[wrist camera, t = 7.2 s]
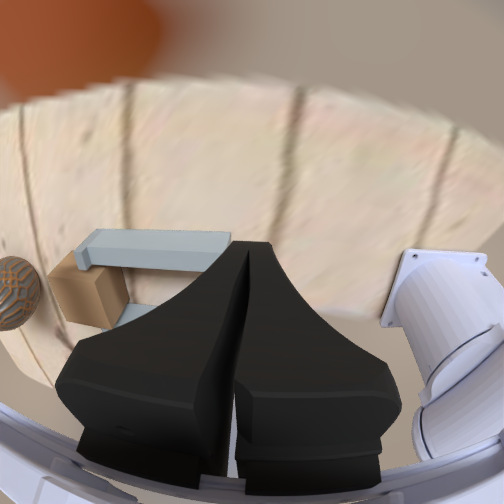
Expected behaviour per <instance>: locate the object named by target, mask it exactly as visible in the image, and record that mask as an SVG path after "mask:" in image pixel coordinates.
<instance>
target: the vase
mask: <svg viewBox="0 0 504 504" xmlns="http://www.w3.org/2000/svg"><path fill="white" fill-rule="evenodd" d="M39 297H40V283H39V278H38V275H37V273H36V271H35V270H34V268H33V267H32V266H31V264H30V263H29V262H27V261H26V260H24V259H22V258H19V257H15V256H9V257H5V258H2V259H0V331H8V330H13V329H16V328H18V327H20V326H21V325H23V324H24V323H25V322H26V321H27V320H28V319H29V318H30V317H31V315H32V314H33V312H34V311H35V309H36V307H37V304H38V301H39Z"/></svg>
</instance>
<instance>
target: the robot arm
mask: <svg viewBox="0 0 504 504" xmlns="http://www.w3.org/2000/svg"><path fill="white" fill-rule="evenodd" d="M414 254H416V255H415V256H414V257H412V256H413V255H414ZM486 261H487V255H485V254H484V253H472V252H456V251H440V250H423V249H407V250H405V251H404V252H403V255H402V258H401V261H400V265H399V268H398V271H397V274H396V277H395V281H394V284H393V287H392V289H391V292H390V295H389V298H388V301H387V304H386V306H385V309H384V312H383V315H382V317H381V320H380V325H381V327H384V328H386V327H403V329H404V332H405V334H406V336H407V339H408V341H409V344H410V346H411V349H412V351H413V354H414V357H415V359H416V362H417V364H418V367H419V370H420V372H421V375H422V378H423V381H424V383H425V388H424V389H423V390H422V391H421V392H419V397H420V400H421V403H422V406H420V407H419V408H418V409H417V411H416V412H415V414H414V417H413V423H412V442H413V446H414V449H415V452H416V455H417V457H418V459H419V461H420V462H419V463H415V464H411V465H407V466H403V467H398V468H394V469H389V470H384V471H380V465H379V459H378V455H379V454H380V453H382V445H381V440H380V437H381V436H382V435H383V434H384V433H385V432H386V431H387V429H388V428H389V427H390V426H391V425H392V424H393V423H394V421H395V420H396V419H397V417H398V415H399V414H400V412H401V408H402V403H401V399H400V395H399V392H398V388H397V386H396V383H395V380H394V378H393V376H392V374H391V372H390V370H389V368H388V365H387V363H385V362H384V361H382V360H380V359H379V358H377V357H375V356H374V355H372V354H370V353H368V352H367V351H365V350H363V349H362V348H360V347H358V346H357V345H355V344H354V343H353V342H351V341H350V340H348V339H347V338H345V337H344V336H343V335H342V334H340V333H339V332H338V331H336V330H335V329H334V328H333V327H332V326H330V325H329V324H328V323H327V322H326V321H325V320H324V319H322V318H321V317H320V316H319V315H318V314H317V313H316V312H315V311H314V310H313V309H312V308H311V307H310V306H309V304H308V303H307V302H306V301H305V300H304V299H303V298H302V296H301V295H300V294H299V293H298V291H297V290H296V289H295V287H294V286H293V284H292V283H291V282H290V280H289V279H288V277H287V276H286V274H285V272H284V271H283V269H282V267H281V266H280V264H279V262H278V260H277V258H276V256H275V254H274V251H273V248H272V245H271V244H270V243H269V242H253V241H233V242H232V243H231V244H230V245H229V246H228V247H227V248H226V249H225V251H224V252H223V253H222V254H221V255H220V256H219V257H218V258H217V259H216V260H215V261H214V262H213V263H212V264H211V266H210V267H209V268H208V269H207V270H206V271H205V272H203V273H202V274H201V275H200V276H199V277H198V278H197V279H196V280H195V281H193V282H192V283H191V284H190V285H189V286H188V287H186V288H185V289H184V290H182V291H181V292H180V293H178V294H177V295H175V296H174V297H173V298H171V299H170V300H168V301H166V302H165V303H163V304H161V305H160V306H158V307H156V308H154V309H153V310H151V311H149V312H148V313H146V314H144V315H142V316H140V317H138V318H136V319H134V320H132V321H130V322H128V323H125V324H123V325H121V326H119V327H116V328H114V329H111V330H108V331H106V332H103V333H100V334H97V335H94V336H92V337H89V338H86V339H82V340H79V342H78V343H77V345H76V346H75V348H74V350H73V351H72V353H71V355H70V356H69V358H68V360H67V362H66V364H65V365H64V367H63V369H62V371H61V373H60V374H59V376H58V378H57V380H56V383H55V388H56V391H57V394H58V397H59V398H60V399H61V401H62V402H63V404H64V405H65V406H66V407H67V408H68V409H69V411H70V412H71V413H72V414H73V415H74V416H75V417H76V418H77V419H78V420H79V421H80V423H81V424H82V425H83V426H84V427H85V428H84V431H83V433H82V436H81V439H80V441H76V440H74V439H71V438H69V437H67V436H65V435H62V434H60V433H57V432H55V431H53V430H51V429H49V428H47V427H45V426H43V425H41V424H39V423H37V422H35V421H33V420H31V419H29V418H27V417H25V416H24V415H22V414H20V413H18V412H17V411H14V410H13V409H11V408H10V407H8V406H6V405H4V404H3V403H1V402H0V490H2V491H3V492H4V493H5V494H6V495H7V496H8V497H9V498H11V499H12V500H13V501H14V502H15V503H16V504H142V503H138V502H137V501H138V499H137V498H136V497H134V496H132V495H130V494H128V493H126V492H123V491H122V490H120V489H118V488H116V487H114V486H113V485H112V484H110V483H109V482H108V481H106V480H104V479H102V478H100V477H97V476H95V475H93V474H91V473H89V472H87V471H85V470H83V469H86V470H88V471H91V472H93V473H96V474H98V475H102V476H104V477H107V478H109V479H113V480H115V481H118V482H121V483H124V484H128V485H131V486H134V487H138V488H141V489H145V490H149V491H153V492H157V493H161V494H166V495H170V496H174V497H179V498H184V499H190V500H196V501H202V502H210V503H217V504H339V503H347V502H354V501H360V500H364V501H360V502H355V503H351V504H504V288H503V287H502V286H501V284H500V283H499V282H498V281H497V280H496V279H495V277H494V276H493V275H492V274H491V273H490V271H489V270H488V269H487V268H486V267H485V264H486ZM389 322H390V323H389ZM234 393H235V407H236V419H237V440H236V449H235V460H236V462H237V470H238V478H229V477H227V471H228V458H229V445H230V433H231V421H232V410H233V400H234ZM82 468H83V469H82ZM366 499H368V500H366Z"/></svg>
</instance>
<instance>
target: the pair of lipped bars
mask: <svg viewBox="0 0 504 504" xmlns="http://www.w3.org/2000/svg"><path fill="white" fill-rule="evenodd" d="M230 244H231V232H208V231H174V230H128V229H96V230H95V231H94V232H93V233H92V234H91V235H90V236H89V237H88V238H87V239H85V240H84V241H83V242H82V243H81V244H80V245H79V246H78V247H77V248H76V249H75V250H74V251H73V253H74V257H75V260H76V263H77V266H78V269H79V270H87V269H88V268H89V267H90V266H91V265H92V264H95V265H108V266H121V267H135V268H150V269H165V270H182V271H199V272H205V271H206V270H207V269H208V268H209V267H210V266H211V264H212V263H213V262H214V261H215V260H216V259H217V258H218V257H219V256H220V255H221V254H222V253H223V252H224V251H225V249H226V248H227V247H228V246H229V245H230ZM156 307H158V306H150V305H141V304H132V303H127V304H126V306H125V308H124V310H123V311H122V313H121V315H120V317H119V318H118V320H117V322H116V324H115V326H114V327H113V329H114V328H116V327H119V326H121V325H123V324H125V323H128V322H130V321H132V320H134V319H136V318H138V317H140V316H142V315H144V314H146V313H148V312H149V311H151V310H153V309H154V308H156ZM101 329H102V331H103V332H106V331H108V330H110V329H104V328H101Z"/></svg>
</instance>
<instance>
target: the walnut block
mask: <svg viewBox="0 0 504 504" xmlns="http://www.w3.org/2000/svg"><path fill="white" fill-rule="evenodd" d="M47 277H48V279H49V282H50V284H51V287H52V289H53V292H54V294H55V296H56V299H57V301H58V303H59V306H60V308H61V310H62V312H63V314H64V316H65V318H66V321H69V322H74V323H78V324H83V325H88V326H93V327H99V328H104V329H110V330H111V329H113V327H114V326H115V324H116V322H117V320H118V318H119V317H120V315H121V313H122V311H123V310H124V308H125V306H126V304H127V303H128V301H129V296H128V292H127V289H126V285H125V282H124V278H123V274H122V270H121V267H120V266H108V265H95V264H92V265H91V266H90V267H89V268H88V269H87V270H79V269H78V266H77V263H76V260H75V257H74V253H73V251H71V252H70V253H69V254H68V255H67V256H66V257H65V258H64V259H63V260H62V261H61V262H60V263H59V264H58V265H57V266H56V267H55V268H54V269H53V270H52V272H51V273H50V274H49V275H48V276H47Z"/></svg>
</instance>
